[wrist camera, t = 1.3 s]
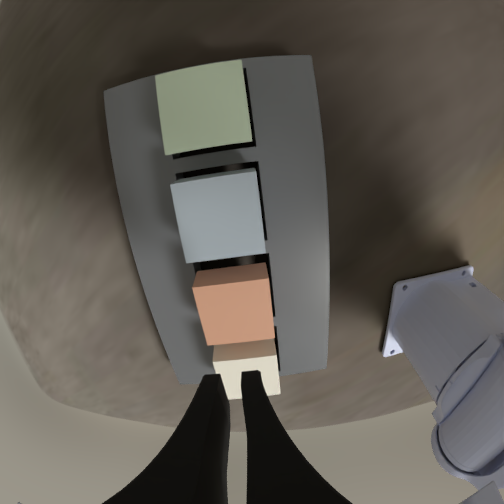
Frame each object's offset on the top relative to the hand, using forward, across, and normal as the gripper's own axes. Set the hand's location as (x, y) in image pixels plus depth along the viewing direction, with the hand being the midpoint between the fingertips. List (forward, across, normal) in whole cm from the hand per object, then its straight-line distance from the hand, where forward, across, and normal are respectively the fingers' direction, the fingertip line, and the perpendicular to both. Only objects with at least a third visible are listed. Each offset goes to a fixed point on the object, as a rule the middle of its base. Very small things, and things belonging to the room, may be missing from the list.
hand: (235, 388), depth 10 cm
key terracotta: (+8, 0, 0) cm, 8 cm away
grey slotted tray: (+10, 0, -3) cm, 10 cm away
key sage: (+8, 0, -11) cm, 14 cm away
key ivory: (+8, 0, +5) cm, 10 cm away
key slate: (+8, 0, -5) cm, 10 cm away
